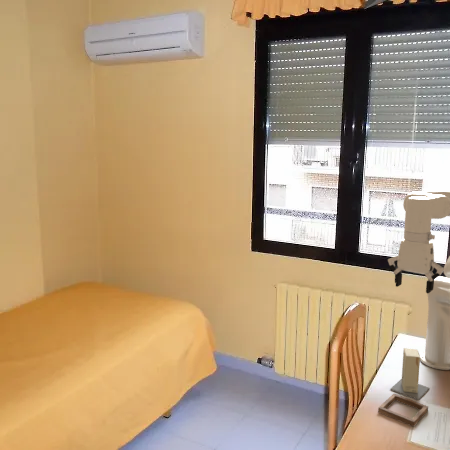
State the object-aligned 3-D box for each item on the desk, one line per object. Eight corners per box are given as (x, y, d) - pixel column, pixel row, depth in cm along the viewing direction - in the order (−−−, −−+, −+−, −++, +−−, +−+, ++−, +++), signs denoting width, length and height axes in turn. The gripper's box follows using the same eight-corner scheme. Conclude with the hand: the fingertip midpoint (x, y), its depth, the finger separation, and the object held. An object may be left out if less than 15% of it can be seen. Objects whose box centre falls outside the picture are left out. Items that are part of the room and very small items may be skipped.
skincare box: (417, 393, 151) (420, 357, 148) (403, 392, 152) (406, 356, 149) (414, 383, 157) (417, 348, 154) (401, 381, 158) (403, 347, 155)
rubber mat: (402, 379, 160) (402, 378, 160) (429, 389, 154) (429, 387, 154) (390, 389, 154) (390, 388, 154) (418, 400, 148) (418, 399, 148)
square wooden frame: (393, 397, 149) (393, 393, 149) (427, 410, 142) (428, 406, 142) (378, 412, 142) (378, 407, 141) (413, 426, 135) (414, 422, 134)
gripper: (450, 238, 145) (445, 291, 149) (394, 230, 157) (391, 280, 160) (441, 243, 140) (437, 298, 144) (385, 234, 151) (382, 286, 155)
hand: (413, 288), depth 152 cm, fingers open, 9 cm apart
